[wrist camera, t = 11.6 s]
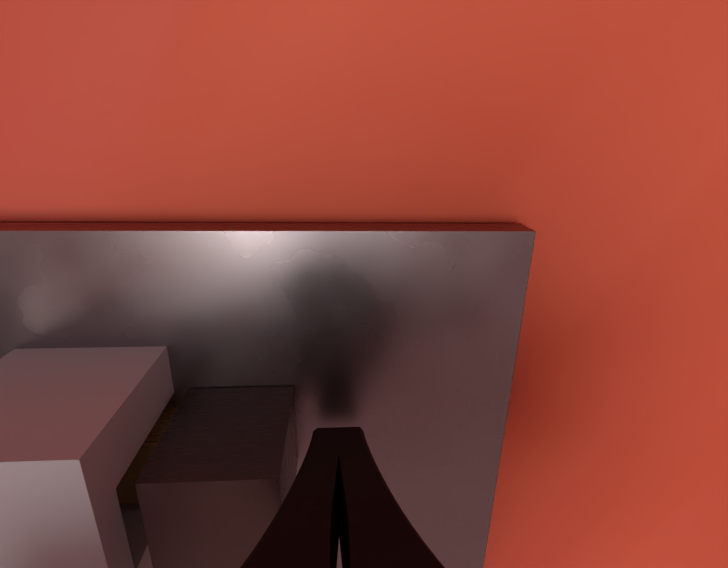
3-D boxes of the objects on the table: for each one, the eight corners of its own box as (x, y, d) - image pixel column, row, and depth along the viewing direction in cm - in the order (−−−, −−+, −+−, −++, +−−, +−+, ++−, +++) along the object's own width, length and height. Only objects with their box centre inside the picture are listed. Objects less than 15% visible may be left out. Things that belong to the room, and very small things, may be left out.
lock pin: (297, 462, 13) (285, 571, 10) (-78, 475, 13) (-222, 597, 9) (293, 386, 12) (279, 478, 9) (-112, 395, 12) (-287, 499, 8)
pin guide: (191, 498, 14) (131, 653, 10) (60, 503, 13) (-57, 665, 9) (166, 346, 12) (79, 459, 8) (15, 348, 12) (-159, 467, 7)
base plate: (465, 602, 18) (473, 629, 17) (-212, 641, 16) (-246, 673, 15) (520, 223, 12) (535, 231, 11) (-502, 221, 11) (-583, 229, 10)
